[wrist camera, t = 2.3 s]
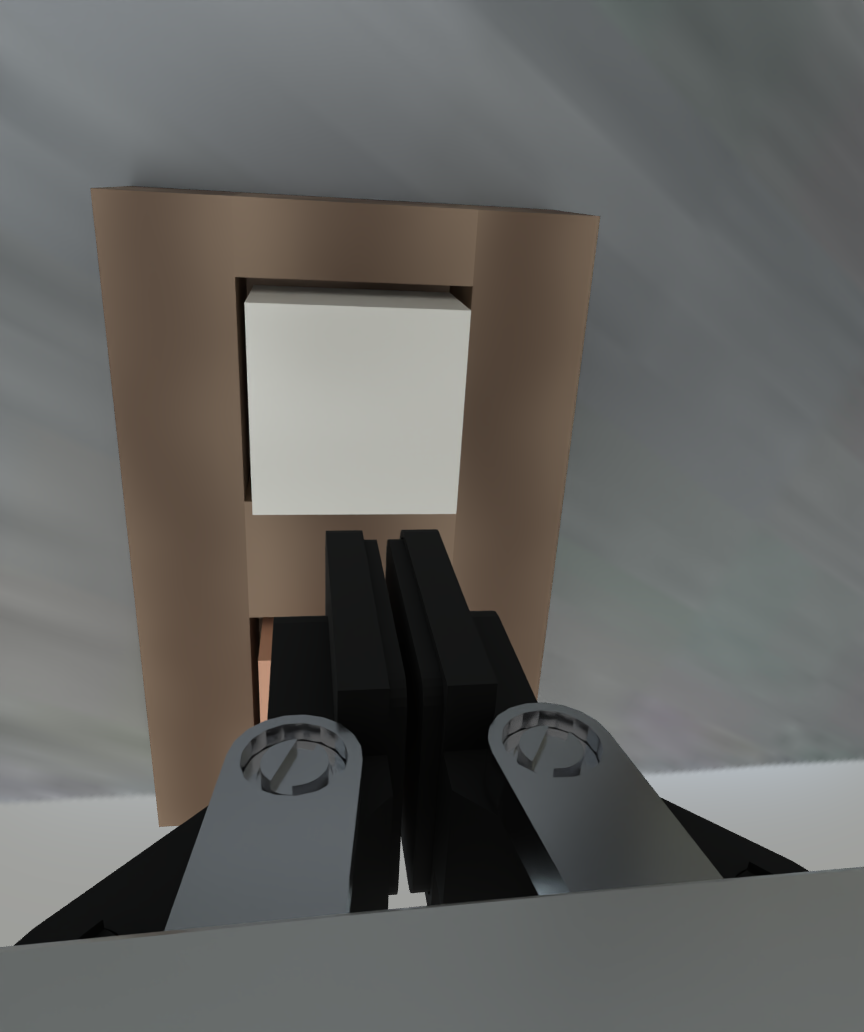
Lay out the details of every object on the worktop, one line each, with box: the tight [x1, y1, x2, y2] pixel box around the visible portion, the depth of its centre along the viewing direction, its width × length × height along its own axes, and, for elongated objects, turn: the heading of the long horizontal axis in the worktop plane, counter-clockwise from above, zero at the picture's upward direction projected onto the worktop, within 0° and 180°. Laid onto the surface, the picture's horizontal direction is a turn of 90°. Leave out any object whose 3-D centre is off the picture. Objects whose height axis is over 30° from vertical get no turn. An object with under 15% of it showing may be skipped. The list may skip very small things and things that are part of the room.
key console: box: [91, 186, 600, 827], centre depth 28 cm, size 14×22×5 cm, turn 177°
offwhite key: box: [244, 285, 471, 515], centre depth 23 cm, size 6×6×4 cm
